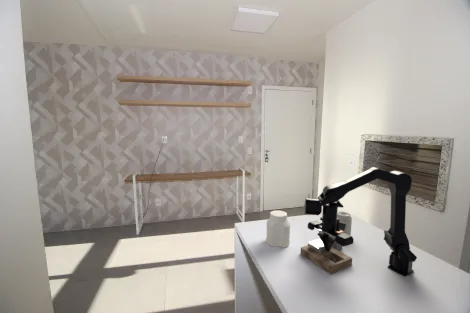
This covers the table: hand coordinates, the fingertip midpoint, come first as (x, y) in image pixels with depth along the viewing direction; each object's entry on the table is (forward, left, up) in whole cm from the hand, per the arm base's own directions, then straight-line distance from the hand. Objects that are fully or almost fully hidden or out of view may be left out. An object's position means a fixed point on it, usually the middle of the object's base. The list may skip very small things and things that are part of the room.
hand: (327, 251), depth 92 cm
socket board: (+1, 0, -4) cm, 4 cm away
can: (+12, -27, -4) cm, 30 cm away
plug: (+5, -12, -4) cm, 14 cm away
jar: (+22, +9, -4) cm, 24 cm away
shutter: (+4, 0, -1) cm, 4 cm away
